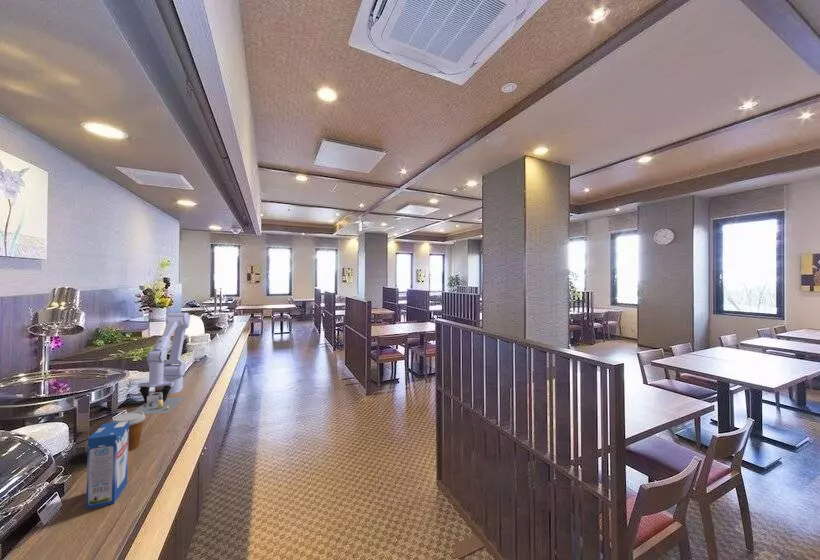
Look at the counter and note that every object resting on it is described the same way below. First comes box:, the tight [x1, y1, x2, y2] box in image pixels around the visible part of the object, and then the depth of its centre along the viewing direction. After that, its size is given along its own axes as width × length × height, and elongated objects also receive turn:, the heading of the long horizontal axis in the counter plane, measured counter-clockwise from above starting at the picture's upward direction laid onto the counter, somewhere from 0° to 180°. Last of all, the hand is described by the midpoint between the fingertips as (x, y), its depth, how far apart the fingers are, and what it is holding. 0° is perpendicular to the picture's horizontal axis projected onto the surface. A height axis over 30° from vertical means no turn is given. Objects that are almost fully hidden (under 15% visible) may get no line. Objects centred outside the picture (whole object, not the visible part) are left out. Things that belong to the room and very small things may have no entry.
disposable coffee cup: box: [111, 411, 146, 452], centre depth 125 cm, size 10×10×12 cm
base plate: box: [132, 396, 186, 415], centre depth 161 cm, size 20×16×5 cm
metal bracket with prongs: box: [146, 391, 163, 407], centre depth 163 cm, size 8×5×4 cm, turn 15°
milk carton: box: [85, 421, 129, 510], centre depth 98 cm, size 10×6×20 cm, turn 24°
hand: (155, 401), depth 165 cm, fingers open, 7 cm apart
